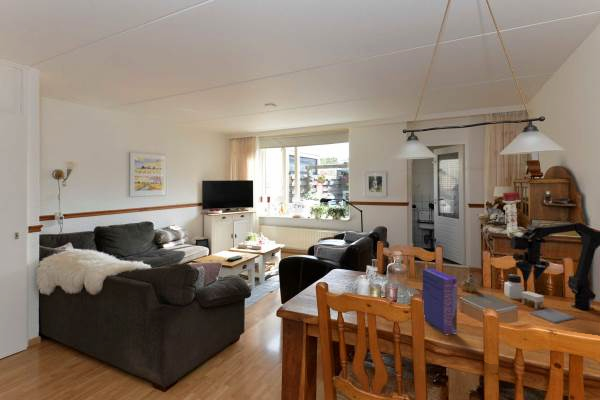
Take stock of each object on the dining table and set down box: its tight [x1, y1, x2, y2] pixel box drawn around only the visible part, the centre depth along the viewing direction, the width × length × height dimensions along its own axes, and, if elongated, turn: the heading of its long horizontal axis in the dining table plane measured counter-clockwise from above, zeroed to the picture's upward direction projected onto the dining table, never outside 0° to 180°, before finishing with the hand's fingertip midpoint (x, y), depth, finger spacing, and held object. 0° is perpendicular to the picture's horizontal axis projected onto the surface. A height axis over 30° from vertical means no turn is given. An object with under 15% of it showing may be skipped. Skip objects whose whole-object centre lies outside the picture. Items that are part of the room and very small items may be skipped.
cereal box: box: [422, 267, 458, 335], centre depth 141 cm, size 17×5×24 cm, turn 12°
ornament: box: [460, 274, 478, 294], centre depth 185 cm, size 8×6×10 cm
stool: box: [521, 290, 545, 310], centre depth 162 cm, size 5×8×6 cm, turn 19°
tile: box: [529, 308, 576, 324], centre depth 150 cm, size 14×11×1 cm
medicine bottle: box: [503, 274, 525, 300], centre depth 175 cm, size 7×7×12 cm
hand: (530, 280), depth 162 cm, fingers open, 9 cm apart
